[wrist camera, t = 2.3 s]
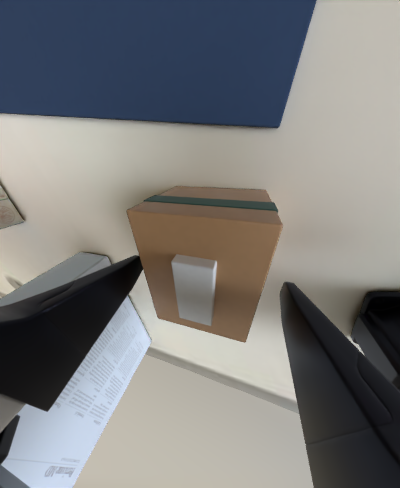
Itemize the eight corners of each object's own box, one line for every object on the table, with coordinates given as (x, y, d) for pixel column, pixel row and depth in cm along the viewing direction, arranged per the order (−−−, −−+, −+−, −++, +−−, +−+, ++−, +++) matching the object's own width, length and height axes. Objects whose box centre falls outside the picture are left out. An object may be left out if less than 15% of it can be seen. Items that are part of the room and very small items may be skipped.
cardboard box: (267, 189, 9) (290, 231, 4) (246, 281, 14) (246, 354, 9) (175, 185, 11) (113, 213, 6) (183, 269, 15) (152, 326, 10)
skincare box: (76, 250, 19) (-285, 456, 6) (108, 253, 18) (-279, 537, 5) (129, 334, 30) (39, 473, 17) (152, 341, 28) (73, 499, 16)
